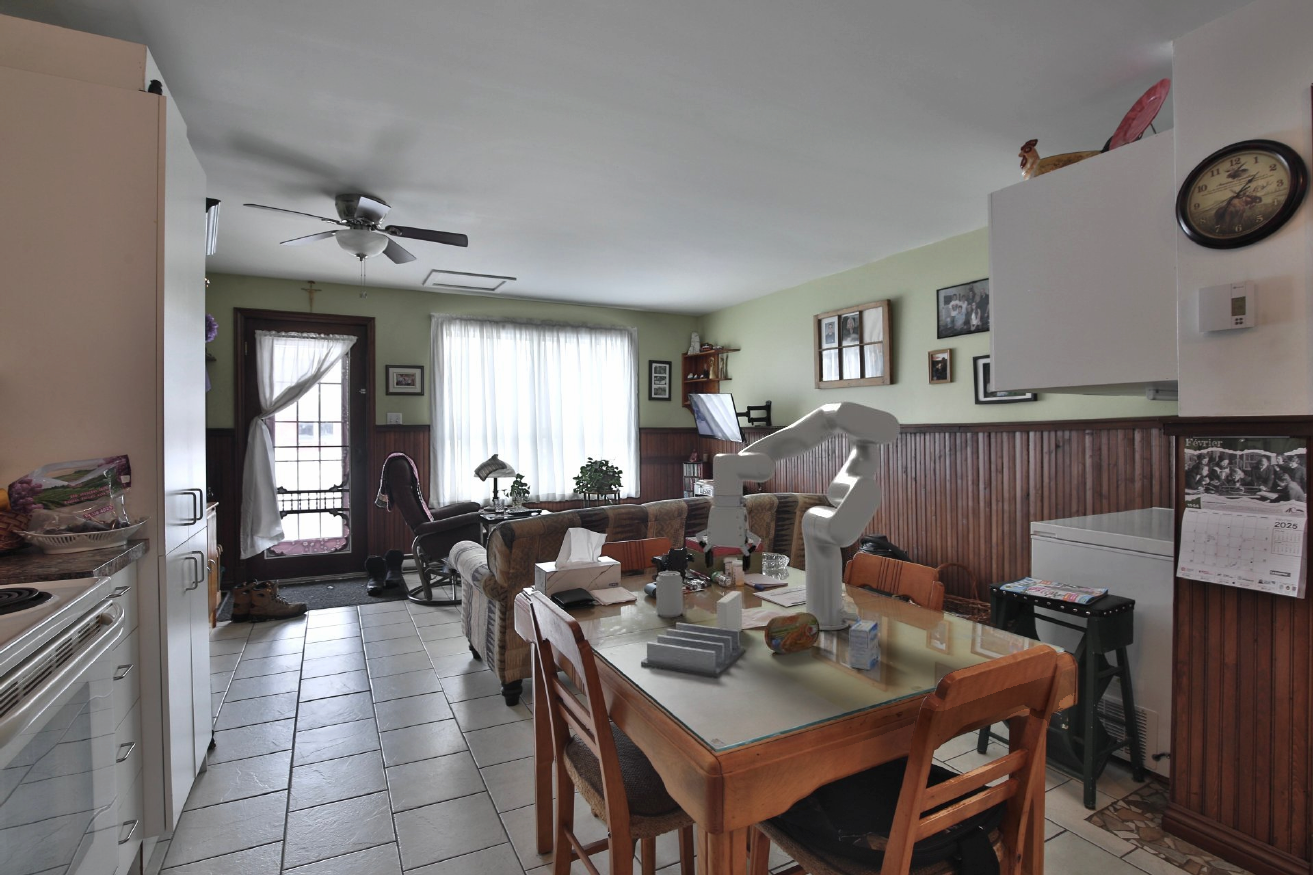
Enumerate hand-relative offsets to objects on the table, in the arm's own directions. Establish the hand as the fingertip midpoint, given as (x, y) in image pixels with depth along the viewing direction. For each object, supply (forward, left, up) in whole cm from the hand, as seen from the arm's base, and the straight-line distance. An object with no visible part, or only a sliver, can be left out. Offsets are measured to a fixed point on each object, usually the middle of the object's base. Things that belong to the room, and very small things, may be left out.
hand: (727, 568), depth 166 cm
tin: (-17, +4, -17) cm, 25 cm away
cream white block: (0, 0, -17) cm, 17 cm away
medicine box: (-34, +7, -17) cm, 39 cm away
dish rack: (+2, +19, -17) cm, 25 cm away
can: (+22, -11, -17) cm, 30 cm away
